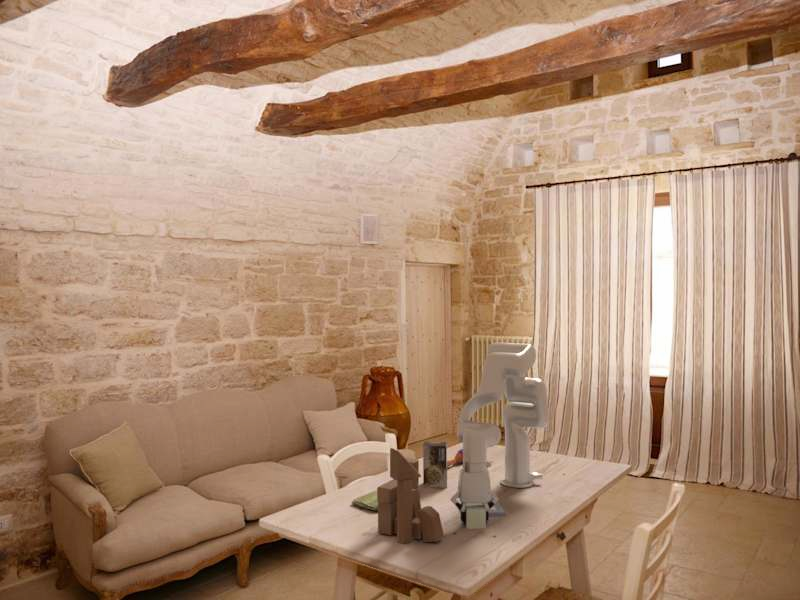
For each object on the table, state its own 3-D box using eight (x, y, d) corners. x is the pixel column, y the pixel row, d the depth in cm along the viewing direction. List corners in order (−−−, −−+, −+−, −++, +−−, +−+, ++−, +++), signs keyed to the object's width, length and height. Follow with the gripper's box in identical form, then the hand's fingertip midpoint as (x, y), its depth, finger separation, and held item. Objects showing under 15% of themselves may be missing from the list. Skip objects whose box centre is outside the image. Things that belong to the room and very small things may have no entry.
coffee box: (447, 483, 247) (447, 441, 247) (446, 488, 240) (447, 445, 240) (423, 482, 248) (423, 441, 248) (422, 487, 241) (422, 445, 241)
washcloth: (349, 506, 221) (349, 497, 221) (383, 494, 235) (383, 485, 235) (377, 515, 213) (377, 505, 213) (411, 501, 226) (411, 492, 226)
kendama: (434, 460, 266) (460, 447, 281) (437, 474, 265) (462, 460, 281) (445, 460, 262) (471, 447, 278) (448, 474, 262) (474, 460, 277)
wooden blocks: (427, 553, 181) (427, 455, 180) (368, 539, 191) (368, 446, 190) (462, 526, 202) (462, 438, 202) (407, 515, 212) (407, 431, 211)
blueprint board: (495, 501, 226) (495, 498, 226) (505, 515, 212) (505, 512, 212) (456, 502, 225) (456, 499, 225) (463, 516, 211) (463, 513, 211)
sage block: (482, 521, 206) (482, 503, 206) (485, 528, 200) (485, 509, 200) (463, 521, 205) (463, 503, 205) (466, 528, 199) (466, 509, 199)
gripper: (498, 462, 207) (498, 518, 207) (446, 463, 206) (445, 519, 206) (504, 469, 199) (504, 526, 200) (449, 470, 198) (449, 527, 198)
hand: (474, 522), depth 203 cm, fingers closed on sage block, 6 cm apart
